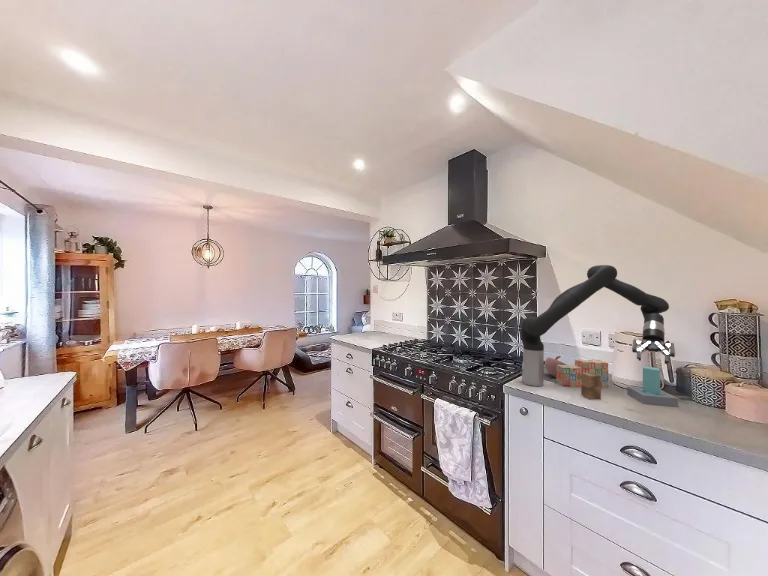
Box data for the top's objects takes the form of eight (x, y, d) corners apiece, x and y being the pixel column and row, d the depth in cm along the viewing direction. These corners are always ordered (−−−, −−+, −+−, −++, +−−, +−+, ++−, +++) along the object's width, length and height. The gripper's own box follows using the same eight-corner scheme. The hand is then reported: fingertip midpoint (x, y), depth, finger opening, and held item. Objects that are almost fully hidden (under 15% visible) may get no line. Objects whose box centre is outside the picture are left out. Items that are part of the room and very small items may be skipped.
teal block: (642, 391, 127) (642, 367, 127) (644, 388, 130) (644, 366, 130) (658, 394, 123) (658, 370, 123) (659, 391, 127) (660, 368, 127)
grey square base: (643, 405, 122) (643, 394, 122) (627, 395, 134) (627, 386, 134) (678, 408, 119) (678, 397, 119) (658, 397, 131) (658, 388, 131)
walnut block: (589, 399, 127) (589, 375, 127) (581, 395, 132) (581, 372, 132) (600, 399, 127) (600, 376, 127) (592, 395, 132) (592, 372, 132)
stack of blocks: (562, 386, 144) (562, 361, 144) (556, 382, 150) (556, 358, 151) (608, 388, 143) (608, 362, 143) (599, 384, 149) (599, 359, 149)
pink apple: (575, 379, 156) (575, 357, 157) (557, 380, 153) (557, 358, 153) (557, 373, 168) (557, 353, 168) (539, 374, 165) (539, 353, 165)
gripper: (633, 326, 142) (630, 353, 134) (674, 329, 132) (675, 358, 124) (634, 336, 146) (632, 363, 137) (674, 339, 136) (675, 369, 127)
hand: (652, 361), depth 130 cm, fingers open, 8 cm apart
